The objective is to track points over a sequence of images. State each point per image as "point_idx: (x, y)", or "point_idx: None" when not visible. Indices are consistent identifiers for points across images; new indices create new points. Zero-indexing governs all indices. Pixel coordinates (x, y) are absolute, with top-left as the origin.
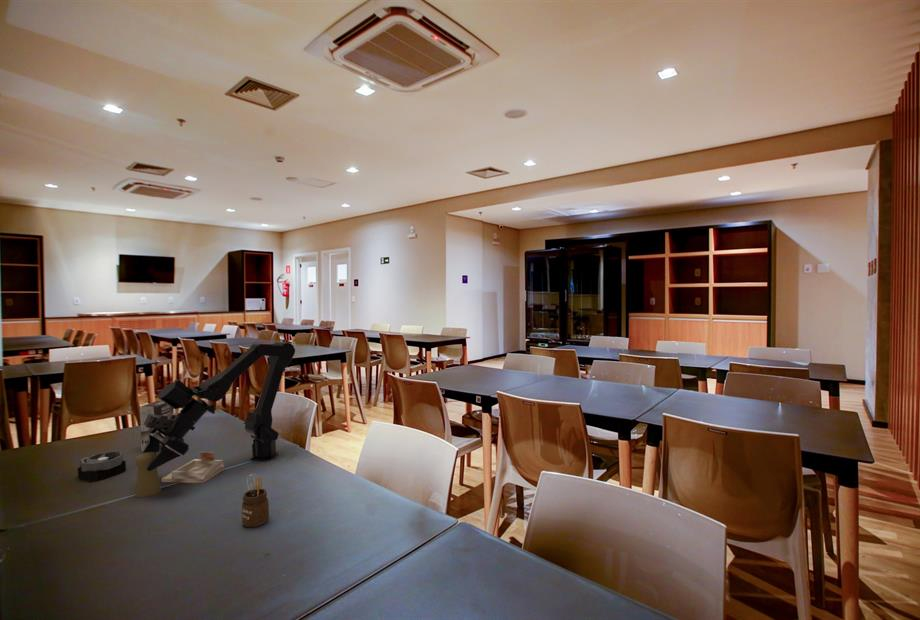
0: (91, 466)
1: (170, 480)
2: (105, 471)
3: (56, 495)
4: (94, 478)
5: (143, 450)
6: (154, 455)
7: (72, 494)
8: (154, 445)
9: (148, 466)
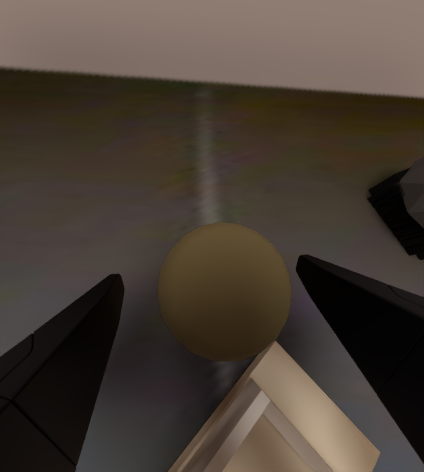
0: (417, 167)
1: (249, 370)
2: (400, 206)
3: (322, 138)
4: (378, 191)
5: (368, 277)
6: (185, 336)
7: (310, 158)
8: (412, 364)
9: (104, 282)
